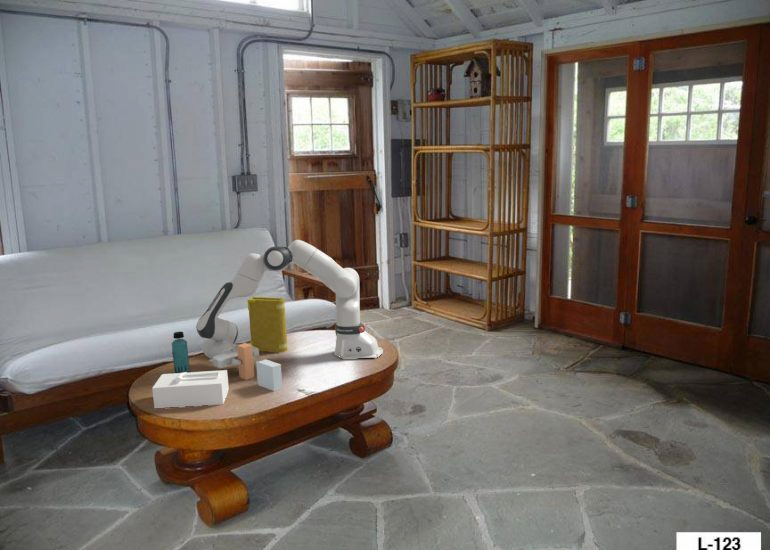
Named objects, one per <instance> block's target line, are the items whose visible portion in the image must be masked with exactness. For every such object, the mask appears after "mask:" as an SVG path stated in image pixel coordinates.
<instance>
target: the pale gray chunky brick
mask: <svg viewBox="0 0 770 550" xmlns="http://www.w3.org/2000/svg"><path fill="white" fill-rule="evenodd" d="M255 368H256V382H257V383H256V384H257V386H259V387H263V388H265V389H267V390H270V391H272V392H277V391H280V390H282V389H283V378H282V364H280V363H277V362H274V361H272V360H269V359H266V358H262V359H258V360H255Z"/></svg>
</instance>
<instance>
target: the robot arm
mask: <svg viewBox="0 0 770 550" xmlns="http://www.w3.org/2000/svg"><path fill="white" fill-rule="evenodd" d="M290 264H294V265H297V266H298V267H299V268H301V269H303V270H304V271H306V272H308V273H309V274H311V275H312V276H313V277H314V278H317V279H318V280H319V281H320V282H322V283H323V284H324V285H325V286H326V287H327V288H328V289H330V290H331V291H332V292H333V293H334V294H335V306H334V307H335V325H334V326H335V327H334V328H335V329H334V331H335V332H334V333H335V336H336V337H335V348H334V352H333V354H334V356H336V355H337V356H336V357H338V356H340V357H341V358H342V359H341V358H340V357H339V358H340V359H341V360H358V359H357V358H375V359H377V357H378V358H379V356H380V355H381V354H382V355H383V353H384V349H383V348H382V347H379V344H378V341H377V339H376V337H374V336H373V335H372V334H370V333H369V332H367V331H366V330H365V329H366V328H365V327H366V324H365V323H362V322H361V309H360V308H361V307H360V306H361V305H360V301H361V300H360V298H361V297H360V293H361V292H360V289H361V288H360V287H361V286H360V276H359V274H358V271H356V270H355V269H354V268H352V267H344V268H343V267H342V265H341V266H340V265H339V264H338V263H337V262H336V261H335V260H334V259H333V258H332V257H331V256H329V255H327V254H326V253H324V252H323V251H322V250H320V249H319V248H317V247H315V246H314V245H312V244H310V243H308V242H306V241H304V240H301V239H295V240H293V241H292V242H290V244H289V245H288V246H278V245H275V246H271V247H269V248H267V249H266V251H265V252H264V254H258V253H254V252H253V253H248V254H247V255H246V256H245V257H244V258H243V260H242V262H241V264H240V265H239V267H238V269H237V271H236V273H235V275H234V277H232V279H231V280H230V281H229V282H225V283H224V284H223V285H222V287H221V288H220V289H219V290H218V292H217V293H216V296H214V298H213V300H212V302H211V303H210V304H209V305H208V308H207V309H206V310H205V312H204V313H203V315H201V317H200V318H199V319H198V321H197V322H196V327H195V328H196V331H197V334H198V335H199V337H200V338H203V339H205V340H204V341H203V342H202V346H201V350H202V352H203V354H204V355H205V357H208V358H209V360H208V362H209V363H211V364H212V365H213V366H214V367H215V368H217V369H224V368H227V367H230V366H233V365H238V366H239V365H241V364H243V361H242V360H241V359H239V360H238V353H237V345H240V344H243V343H244V342H236V341H237V339H238V336H239V330H238V327H237V324H236V323H235V322H233V321H230V320H226V319H223V318H220V317H219V315H220V314H221V313H222V310H223V309H224V308H225V306H226V304H227V303H228V302H229V301H230V300H233V299H237V298H246V297H249V296H252V295H253V294H255V293H256V291H257V290H258V288H259V285H260V284H261V281H262V278H263V277H264V275H265V273H266V272H267V271H271V272H281V271H284V270H286V269H287V267H289V265H290ZM252 352H253V361H254V359H255V358H258V357H259V356H260V351H259V349H258V348H257V347H254V346H252ZM382 355H381V356H382ZM381 356H380V357H381Z"/></svg>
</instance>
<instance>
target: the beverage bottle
mask: <svg viewBox="0 0 770 550" xmlns="http://www.w3.org/2000/svg"><path fill="white" fill-rule="evenodd" d="M184 337H185V335H184V332H183V331H175V332H174V333H173V339H174V340H173V341H172V342H171V350H172V351H171V352H172V353H171V354H172V363H173V371H174V372H173V373H183V372H187V373H189V372H191V369H190V359H189V350H188V348H189V347H188V341H187V340H186V339H184Z"/></svg>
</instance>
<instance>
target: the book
mask: <svg viewBox="0 0 770 550" xmlns="http://www.w3.org/2000/svg"><path fill="white" fill-rule="evenodd" d="M285 304H286V303H285V298H283V297H271V296H269V297H266V296H253V297H252V298H248V299H247V308H248V309H247V310H248V315H249V316H248V318H249V328H250V329H249V330H250V332H249V333H250V345H252V346H254V347H257V348H258V349H259V352H265V351H266V352H267V351H268V352H267V353H279V352H281V353H286V352H287V351H288V349H289V348H288V337H287V323H286V307H285ZM285 351H286V352H285ZM266 352H265V353H266Z"/></svg>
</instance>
